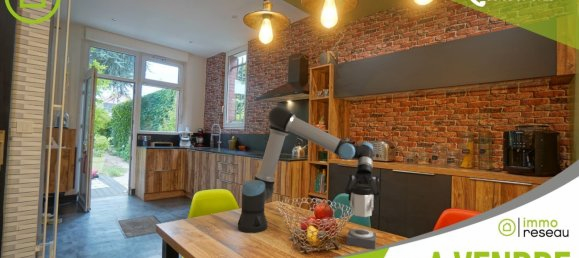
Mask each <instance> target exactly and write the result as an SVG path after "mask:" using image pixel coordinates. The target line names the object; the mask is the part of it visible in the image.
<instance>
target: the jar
mask: <svg viewBox="0 0 579 258" xmlns="http://www.w3.org/2000/svg"><path fill="white" fill-rule="evenodd" d="M352 195H353V205H352V208H351V212H352V211H353V212H354V214H353V216H355V217H361V218H367V217H372V215H373V211H371V201H372V195H373V194H372V192H371V188H369V187H368V186H363V185H361V186H360V185H359V186H355V187H353V192H352Z"/></svg>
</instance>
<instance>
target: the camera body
mask: <svg viewBox="0 0 579 258" xmlns="http://www.w3.org/2000/svg"><path fill="white" fill-rule="evenodd" d="M345 242H346V243H345V244H346V246H351V247H357V248H365V249H370V248H371V250H375V249H376V244H377V232H374V231H371V230H369V229H364V228H353V229H349V230H348V232H347V235H346V241H345Z"/></svg>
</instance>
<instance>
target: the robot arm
mask: <svg viewBox="0 0 579 258" xmlns="http://www.w3.org/2000/svg"><path fill="white" fill-rule="evenodd" d="M267 118H268V122H269V127H268V129H269V132H270V133H269V137H268V140H267V143H266V147H265V151H264V154H263V157H262V161H261V164H260V167H259V170H258V173H256V174H255V175H254V178H253V179H252V180H246V181H245V182H243V183H242V185H241V186H242V187H241V213H240V217H239V219H238V221H237V230H238V231H240V232H243V233H249V234H250V233H261V232H264V231H266V230H268V221H267V217H266V213H265V205H266V204H265V201H268V200H269V199H270V198H271V197H272V196H273V194H274V190H275V188H274V186H275V182H276V180H275V178H274V176H275V172H276V169H277V167H278V166H277V165H278V162H279V159H280V156H281V153H282V149H283V145H284V142H285V139H286V137H287V136H289V135H290V132H291V133H293V134H295V135H298V136H299V137H301V138H303V139H305V140H308V141H309V142H311V143H313V144H315V145H317V146H319V147H320V148H323V149H324V150H327V151H328V152H331V153H333V154H335V156H337V157H340V158H341V159H343V160H347V161H348V160H351V159H354V160H357V164H356V173H355V175H352V174H349V180H348V182H347V184H346V187H345V190H344V191H345V195H348V201H349V208H350V209H352V205H353V195H352V192H353V187H355V186H360V185H367V187H369V188H371V195H372V201H371V211H372V212H373V211H374V204H377V198H378V197H379V198H380V197H381V194H382V193H381V188H380V184H379V179H380V178H379V176H373V164H374V152H375V151H374V146H373V144H372V143H371V142H368V141H364V142H360V144H354V143H353V144H352V143H348V142H346V141H345V140H343V139H340V138H338V137H336V136H334V135H332V134H330V133H328V132H326V131H324V130H322V129H320V128H318V127H316V126H314V125H312V124H310V123H308V122H306V121H304V120H302V119H301V118H299V117H296V114H294V113H293V112H292V111H291V110H290V109H288V108H286V107H284V106H282V105H278V106H274V107H273V108H271V109H270V110H269V112H268V117H267ZM354 180H355V182H354V184H353V181H354ZM372 181H373V182H374V185H375V188H376V189H375V188H374V186H373V183H371V182H372ZM352 184H353V185H352ZM351 186H352V187H351Z"/></svg>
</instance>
